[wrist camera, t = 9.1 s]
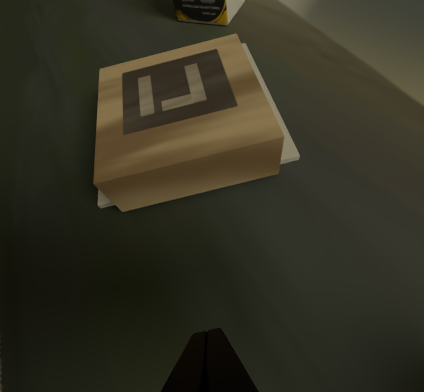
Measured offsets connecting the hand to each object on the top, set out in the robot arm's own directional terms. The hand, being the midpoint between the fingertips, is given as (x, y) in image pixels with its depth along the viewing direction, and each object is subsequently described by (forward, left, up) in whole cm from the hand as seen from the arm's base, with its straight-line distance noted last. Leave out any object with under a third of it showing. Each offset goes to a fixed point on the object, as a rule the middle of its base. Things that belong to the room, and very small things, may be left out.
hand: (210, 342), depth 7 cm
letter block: (+8, +6, -6) cm, 11 cm away
